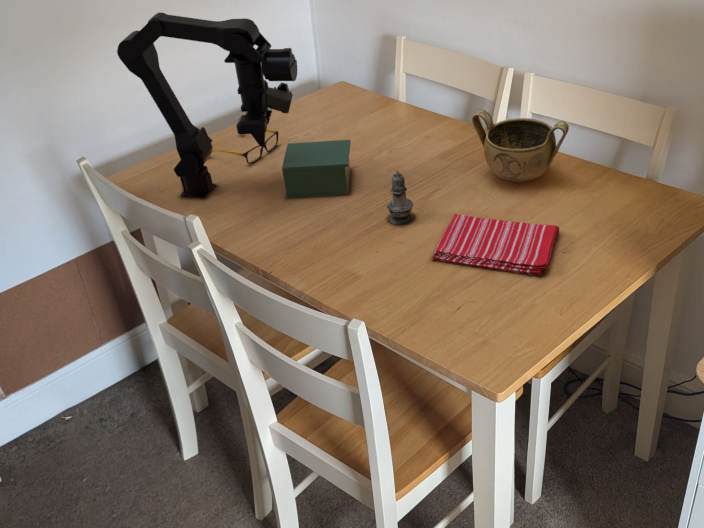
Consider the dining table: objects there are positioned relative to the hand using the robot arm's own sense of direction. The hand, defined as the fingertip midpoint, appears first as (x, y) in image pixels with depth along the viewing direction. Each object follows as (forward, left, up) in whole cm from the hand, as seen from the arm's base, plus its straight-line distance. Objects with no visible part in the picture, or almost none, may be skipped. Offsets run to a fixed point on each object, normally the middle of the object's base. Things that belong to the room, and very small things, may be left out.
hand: (262, 145), depth 186 cm
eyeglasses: (-15, +20, -13) cm, 28 cm away
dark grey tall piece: (+35, -7, -13) cm, 37 cm away
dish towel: (+58, -15, -13) cm, 61 cm away
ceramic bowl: (+57, +16, -13) cm, 61 cm away
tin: (+11, +6, -12) cm, 17 cm away
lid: (+11, +6, -5) cm, 13 cm away
